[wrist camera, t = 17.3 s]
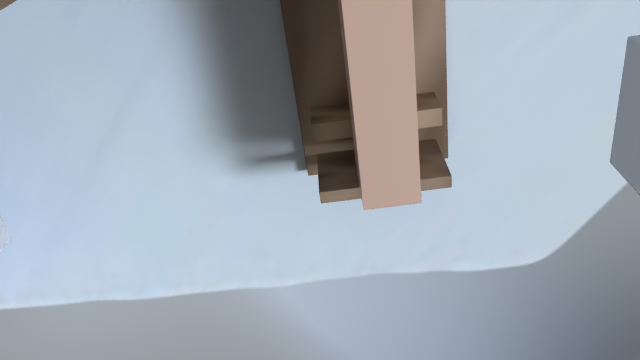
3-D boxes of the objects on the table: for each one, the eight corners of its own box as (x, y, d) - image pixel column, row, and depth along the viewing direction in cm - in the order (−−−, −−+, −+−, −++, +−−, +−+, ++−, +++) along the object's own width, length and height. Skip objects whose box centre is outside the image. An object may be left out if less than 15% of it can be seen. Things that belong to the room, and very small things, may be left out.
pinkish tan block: (355, 160, 48) (363, 209, 42) (331, -51, 39) (338, -27, 34) (405, 153, 48) (421, 202, 42) (393, -60, 39) (410, -37, 33)
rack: (308, 169, 53) (309, 215, 47) (264, -105, 41) (259, -91, 35) (445, 152, 52) (464, 196, 46) (439, -131, 41) (464, -120, 35)
